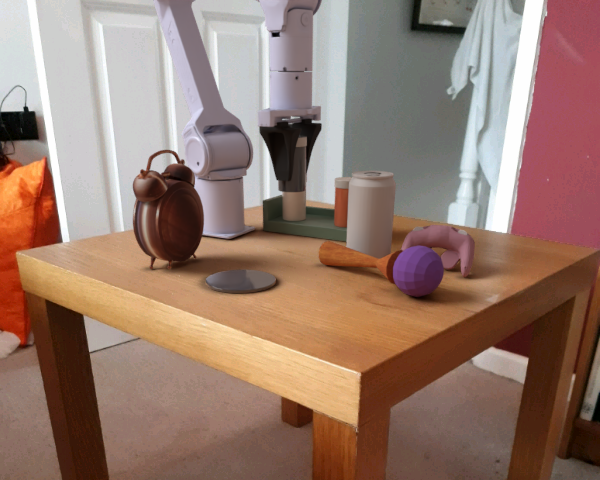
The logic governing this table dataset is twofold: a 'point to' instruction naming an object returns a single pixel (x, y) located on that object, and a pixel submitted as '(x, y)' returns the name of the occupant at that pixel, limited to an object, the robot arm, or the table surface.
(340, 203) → the paprika shaker
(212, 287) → the coaster
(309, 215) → the spice rack
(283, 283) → the table surface
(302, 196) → the salt shaker
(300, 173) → the pepper shaker
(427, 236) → the video game controller
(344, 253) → the kendama
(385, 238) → the beverage can
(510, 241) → the table surface
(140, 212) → the alarm clock
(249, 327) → the table surface
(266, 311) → the table surface
